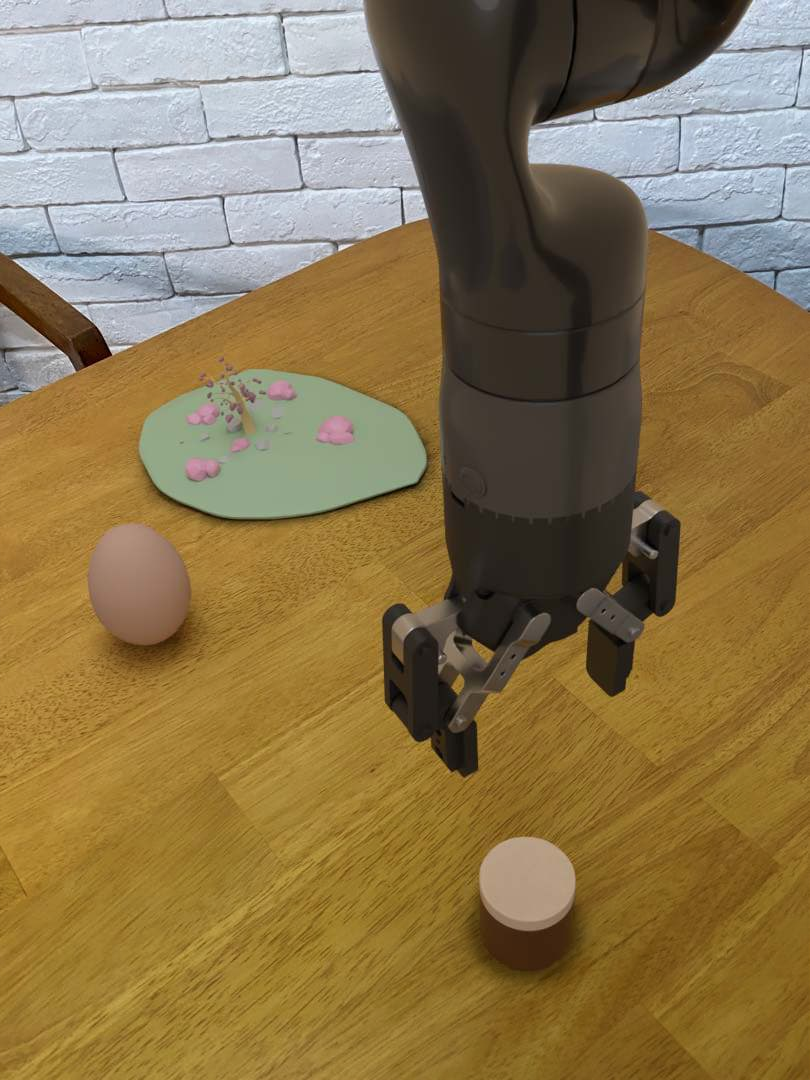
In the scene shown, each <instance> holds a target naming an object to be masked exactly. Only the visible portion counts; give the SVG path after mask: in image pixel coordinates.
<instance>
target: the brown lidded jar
mask: <svg viewBox="0 0 810 1080" xmlns="http://www.w3.org/2000/svg"><path fill="white" fill-rule="evenodd" d="M478 872H479V873H478V892H479V918H480V919H479V924H480V925H479V926H480V927H479V928H480V934H481V938H482V942H483V944H484V946H485V947H486V949H487V951H488V952H489V953H490V954H491V956H493V958H494V959H496V960H497V961H498V962H499V963H501V964H503V965H505V966H507V967H509V968H512V969H514V970H519V971H537V970H542V969H545V968H547V967H551V966H552V965H553V964H555V963H556V962H558V961H559V960H560V959H561V958H563V956H564V954H566V952H567V951H568V949H569V947H570V945H571V943H572V938H573V931H574V930H573V927H574V916H575V915H574V914H575V901H576V888H577V887H576V886H577V885H576V884H577V879H576V878H577V877H576V871H575V869H574V865H573V864H572V862H571V860H570V859H569V857H568V856H567V855H566V853H564V851H562V849H560V848H559V847H558V846H557V845H556V844H554V843H552V842H550V841H547V840H546V839H542V838H538V837H533V836H519V837H518V836H516V837H511V838H509V839H505V840H504V841H502V842H500V843H498V844H496V845H495V846H494V847H493V848H492V849H490V851H489V852H488V853H486V855H485V857H484V858H483V859H482V862H481V864H480V868H479V871H478Z"/></svg>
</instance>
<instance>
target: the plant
mask: <svg viewBox="0 0 810 1080" xmlns="http://www.w3.org/2000/svg"><path fill="white" fill-rule="evenodd" d="M224 360H225V356H220V357H219V358H218V362H219V363H222V366H223V370H224V373H222V374H220V378H221V379H220V380H215V379H214V378H212V377H211V375H210V374H207V373H206V372H202V373H201V374H200V375H199V377H198V380H199V382H200V381H201V382H202V381H203V380H204V378H205V376H209V377H206V379H209V380H208V381H206V382H205V385H203V386H201V387H199V388H198V387H197V388H195V389H194V390H191V391H188V392H185V393H182V394H180V395H177V396H176V397H175V398H172V399H171V400H169V401H168V402H166V403H164V404H163V405H161V406H159V407H158V408H156V409H155V410H153V411H151V413H150V414H149V415H148V416H147V417H146V418H145V420H144V421H143V425H142V429H141V434H140V438H139V439H140V440H139V443H138V453H139V457H140V460H141V461H142V464H143V466H144V468H145V470H146V472H147V473H148V475H149V477H150V479H151V481H152V483H153V484H154V485H155V488H157V489H158V490H159V491H160V492H162V494H164V495H165V496H167V497H168V498H170V499H172V500H174V501H176V502H178V503H180V504H182V505H185V506H188V507H190V508H193V509H196V510H198V511H201V512H204V513H206V514H209V515H212V516H215V517H219V518H225V519H232V520H233V519H234V520H279V519H289V518H296V517H297V518H298V517H304V516H311V515H316V514H321V513H325V512H329V511H333V510H336V509H339V508H343V507H347V506H349V505H353V504H356V503H358V502H362V501H365V500H368V499H371V498H374V497H377V496H381V495H385V494H387V493H390V492H394V491H396V490H400V489H403V488H406V487H409V486H414V485H416V484H418V482H419V481H420V479H421V477H422V476H423V474H424V472H425V471H426V468H427V467H428V457H427V456H428V454H427V450H426V447H425V446H424V443H423V441H422V438H421V437H420V435H419V433H418V431H417V430H416V428H415V426H414V425H413V423H412V421H411V420H410V419H409V418H408V416H407V415H406V414H405V413H403V412H402V411H401V410H399V409H398V408H396V407H394V406H392V405H390V404H387V403H385V402H383V401H381V400H379V399H376V398H373V397H371V396H368V395H366V394H364V393H362V392H359V391H356V390H354V389H352V388H350V387H347V386H345V385H343V384H339V383H337V382H335V381H331V380H329V379H326V378H323V377H320V376H314V375H308V374H302V373H294V372H287V371H280V370H275V369H266V368H250V369H246V370H243V371H240V372H239V371H238V370H233V369H234V366H233V365H230V364H229V363H228V362H225V363H224ZM228 364H229V365H228ZM225 366H226V367H225ZM232 370H233V371H232ZM231 373H233V375H230V374H231Z"/></svg>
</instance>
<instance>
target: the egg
mask: <svg viewBox="0 0 810 1080" xmlns="http://www.w3.org/2000/svg"><path fill="white" fill-rule="evenodd" d="M88 566H89V567H88V571H87V575H86V576H87V589H88V596H89V600H90V603H91V606H92V608H93V611H94V613H95V616H96V618H97V619H98V621H99V622H100V623H101V625H102V626H103V627H104V628H105V629H106V630H107V631H108V632H109V633H110V634H111V635H113V636H115V637H116V638H118V639H120V640H122V641H123V642H124V643H128V644H131V645H136V646H137V645H138V646H152V645H157V644H160V643H161V642H165V641H166V640H168V638H170V637H171V636H173V635H174V634H175V633H177V632H178V630H179V629H180V627H181V626H182V624H183V623H184V622H185V619H186V618H187V616H188V614H189V610H190V606H191V602H192V601H191V600H192V585H191V577H190V575H189V572H188V568H187V566H186V563H185V560H184V559H183V557H182V555H181V554H180V552H179V551H178V550H177V548H176V547H175V546H174V545H173V544H172V543H171V541H169V540H168V538H166V536H164V535H163V534H161V532H159V531H158V530H156V529H154V528H152V527H150V526H148V525H145V524H143V523H135V522H127V523H123V524H118V525H115V526H114V527H112V528H111V529H109V530H107V531H106V532H105V533H104V534H103V535H102V536H101V537H100V539H98V542H97V543H96V545H95V547H94V548H93V550H92V554H91V557H90V561H89V565H88Z"/></svg>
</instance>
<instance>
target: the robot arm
mask: <svg viewBox="0 0 810 1080" xmlns="http://www.w3.org/2000/svg"><path fill="white" fill-rule="evenodd" d="M753 2H754V0H362V7H363V15H364V21H365V27H366V32H367V35H368V38H369V42H370V45H371V50H372V52H373V55H374V59H375V62H376V65H377V68H378V71H379V73H380V76H381V79H382V82H383V84H384V87H385V90H386V93H387V96H388V98H389V100H390V104H391V105H392V108H393V112H394V114H395V117H396V119H397V122H398V125H399V127H400V130H401V132H402V135H403V138H404V141H405V143H406V146H407V147H406V148H407V150H408V153H409V156H410V159H411V161H412V165H413V169H414V172H415V175H416V179H417V182H418V186H419V190H420V194H421V197H422V200H423V204H424V207H425V210H426V213H427V217H428V222H429V225H430V229H431V234H432V237H433V242H434V246H435V252H436V257H437V264H438V283H439V289H438V290H439V291H438V293H439V309H440V330H441V350H442V356H441V357H442V358H441V359H442V361H441V362H442V363H441V364H442V365H441V376H440V383H439V393H438V425H439V444H440V445H439V446H440V464H441V465H440V466H441V484H442V500H443V502H442V503H443V519H444V537H445V539H444V540H445V545H446V550H447V554H448V558H449V559H448V560H449V562H450V563H449V564H450V568H451V572H452V573H451V576H450V577H451V578H450V581H449V583H448V586H447V588H446V590H445V592H444V595H443V600H442V601H439V602H437V603H434V604H432V605H430V606H428V607H426V608H423V609H420V610H418V611H416V612H412V611H411V609H410V608H409V607H408V606H407V605H406V604H405V603H401V602H399V603H394V604H393V605H391V606H389V607H388V608H387V609H386V610H385V611H384V613H383V615H382V618H381V629H382V633H381V634H382V656H383V659H382V660H383V661H382V662H383V664H382V665H383V688H384V689H383V692H384V703H385V705H386V706H387V707H388V709H389V710H390V711H391V712H392V713H394V714H395V715H396V717H397V718H398V719H399V721H400V722H401V723H402V724H403V726H404V727H405V728H406V729H407V732H408V733H409V735H410V736H411V738H412V739H413V740H414V741H415V742H417V743H423V742H425V741H428V740H430V748H431V749H432V750H433V751H434V753H435V754H436V756H437V757H438V758H439V759H440V760H441V762H442V763H443V764H444V766H445V767H446V768H447V769H448V770H449V772H450V773H454V772H456V771H457V772H458V774H459V775H460V776H461V777H462V778H464V779H465V778H467V777H469V776H470V775H473V774H475V773H477V772H478V771H479V746H478V723H477V721H476V720H475V718H476V716H477V714H478V712H479V711H480V709H481V708H482V706H483V705H484V703H485V701H486V700H487V698H488V697H489V695H490V694H497V695H498V694H500V693H502V692H503V691H504V689H505V687H506V686H507V684H508V683H509V681H510V679H511V678H512V676H513V675H514V673H515V671H516V670H517V668H518V667H519V665H520V664H521V661H523V660H525V659H528V658H529V657H532V656H533V655H535V654H537V653H538V652H539V651H541V650H542V649H543V648H545V647H546V646H547V645H549V644H551V643H554V642H558V641H559V642H560V641H562V640H565V639H567V638H568V637H571V636H573V635H574V634H577V633H578V627H579V626H581V625H582V624H583V623H584V622H585V621H586V619H588V618H589V619H588V625H587V641H586V642H587V643H586V656H585V657H586V659H585V670H586V672H587V675H588V676H589V678H590V679H591V680H592V681H593V682H594V683H595V684H596V685H597V686H598V687H599V689H601V690H602V691H603V692H604V693H605V694H606V695H607V696H609V698H613V697H615V696H617V695H619V694H621V693H622V692H624V691H625V690H626V686H627V679H628V678H629V677H630V674H631V673H632V670H633V667H634V666H633V665H634V657H635V656H634V654H635V647H636V640H637V639H639V638H640V636H642V633H643V632H644V629H645V623H644V622H645V620H647V619H648V618H649V617H650V616H652V615H653V614H654V615H655V616H656V617H658V618H662V617H665V616H667V614H669V613H670V612H671V611H672V609H674V607H675V604H676V601H677V600H676V599H677V588H678V587H677V586H678V571H679V570H678V569H679V558H680V557H679V555H680V541H681V528H682V527H681V526H682V525H681V520H680V519H678V518H677V517H675V515H673V514H672V513H671V512H669V511H668V510H667V509H666V508H664V507H663V506H662V505H661V504H659V503H658V502H656V500H654V499H653V498H651V497H650V496H649V495H648V494H646V493H645V492H643V490H636V485H637V483H636V482H637V473H638V472H637V471H638V459H639V449H640V439H641V428H642V427H641V426H642V416H643V415H642V414H643V389H642V388H643V387H642V376H641V361H640V358H641V346H642V336H643V325H644V311H645V303H646V302H645V300H646V289H647V274H648V261H649V260H648V259H649V244H650V243H649V224H648V220H647V216H646V211H645V208H644V205H643V202H642V201H641V199H640V198H639V196H638V194H637V193H636V192H635V191H634V190H633V189H632V188H631V186H629V185H628V184H627V183H626V182H625V181H622V180H621V179H619V178H618V177H616V176H614V175H612V174H610V173H608V172H605V171H603V170H601V169H600V170H599V169H596V168H591V167H587V166H583V165H575V164H566V163H565V164H563V163H553V162H550V163H547V162H546V163H545V162H543V163H530V160H529V139H530V134H531V127H534V126H536V125H540V124H544V123H547V122H552V121H555V120H559V119H563V118H566V117H571V116H574V115H578V114H582V113H586V112H590V111H593V110H597V109H600V108H605V107H609V106H613V105H616V104H619V103H623V102H628V101H632V100H635V99H639V98H641V97H644V96H647V95H649V94H651V93H655V92H656V91H659V90H661V89H663V88H665V87H668V86H669V85H671V84H673V83H675V82H676V81H678V80H680V79H681V78H683V77H684V76H686V75H688V74H689V73H690V72H692V71H693V70H695V69H696V68H697V67H699V66H700V65H701V64H703V63H704V62H706V61H707V60H708V59H709V58H710V57H711V56H713V55H714V54H715V53H716V52H717V51H718V50H719V49H721V48H722V46H723V45H724V44H725V43H726V42H727V41H728V39H729V38H730V37H731V35H732V34H733V33H734V32H735V30H736V29H737V27H738V26H739V24H740V23H741V22H742V20H743V18H744V16H745V15H746V13H747V12H748V10H749V8H750V7H751V5H752V3H753ZM620 566H621V585H622V587H621V588H619V589H618V590H617V591H616V592H614V593H613V594H612V593H611V592H609V590H607V587H608V585H609V584H610V582H611V580H612V579H613V578H614V576H615V574H616V573H617V571H618V569H619V568H620ZM473 640H474V641H475V642H477V643H479V644H480V645H482V646H483V647H484V648H486V649H488V650H490V651H491V652H493V654H492V656H491V657H490V659H489V661H486V660H485V659H484V658H483V657H482V656H481V654H480V652H479V653H478V651H477V650H476V649H475V647H474V645H473ZM459 675H460V676H461V677H462V678H463V682H464V684H463V687H462V689H461V690H460V692H459V694H458V693H457V692H456V691H455V690H454V689H453V685H454V683H455V682H456V681H457V679H458V677H459Z"/></svg>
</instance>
